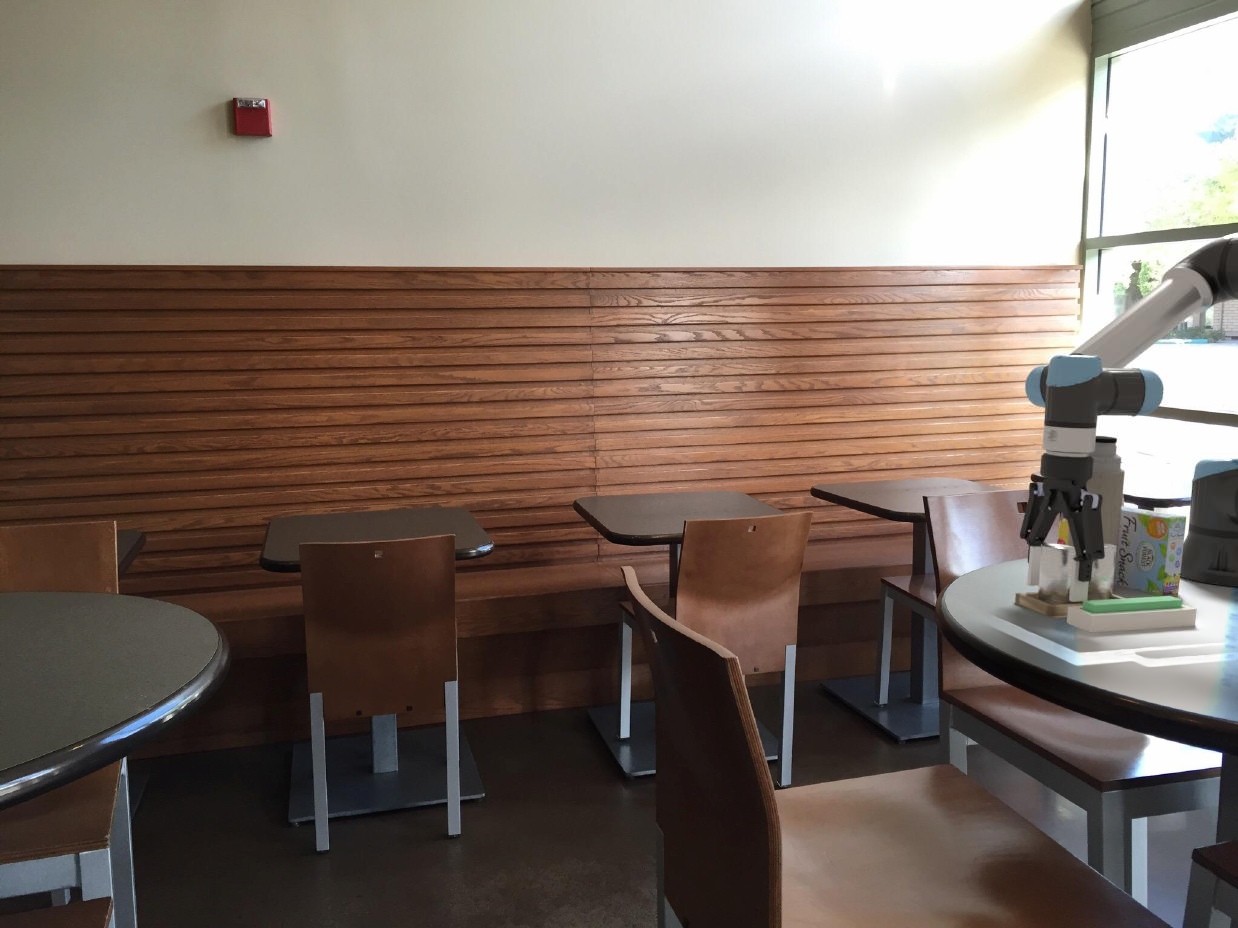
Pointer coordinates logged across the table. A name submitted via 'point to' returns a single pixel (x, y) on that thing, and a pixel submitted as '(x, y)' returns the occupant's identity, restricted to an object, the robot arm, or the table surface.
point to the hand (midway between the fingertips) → (1056, 592)
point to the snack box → (1145, 550)
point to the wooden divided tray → (1045, 608)
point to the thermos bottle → (1107, 489)
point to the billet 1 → (1055, 573)
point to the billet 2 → (1103, 575)
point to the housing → (1130, 619)
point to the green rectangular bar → (1132, 604)
